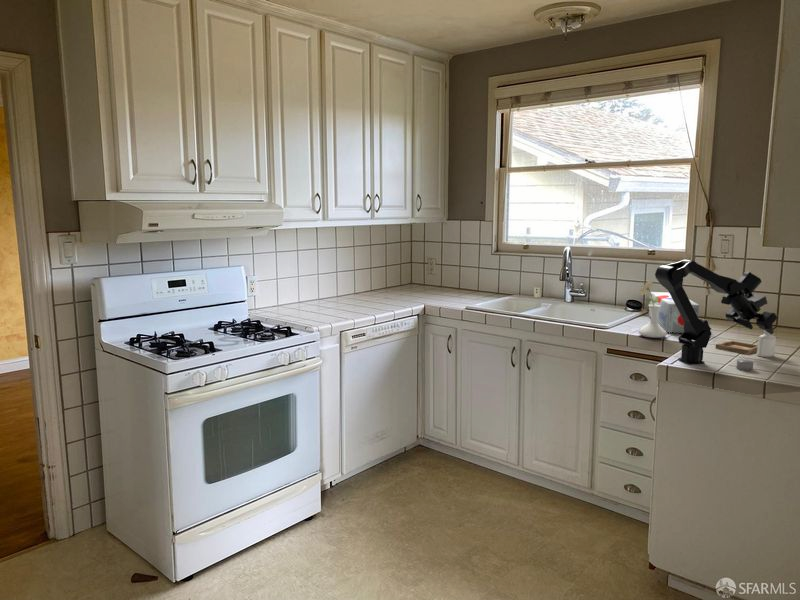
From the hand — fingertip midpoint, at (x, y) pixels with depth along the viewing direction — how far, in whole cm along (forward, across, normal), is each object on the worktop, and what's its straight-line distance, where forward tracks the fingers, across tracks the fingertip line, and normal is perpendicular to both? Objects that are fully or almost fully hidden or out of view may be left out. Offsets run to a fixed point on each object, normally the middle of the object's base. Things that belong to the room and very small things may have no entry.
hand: (761, 330), depth 222 cm
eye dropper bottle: (+9, 0, +5) cm, 11 cm away
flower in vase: (-5, +40, +20) cm, 44 cm away
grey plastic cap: (-7, -12, +21) cm, 25 cm away
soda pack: (+13, +59, +2) cm, 60 cm away
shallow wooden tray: (+8, +12, +6) cm, 15 cm away
